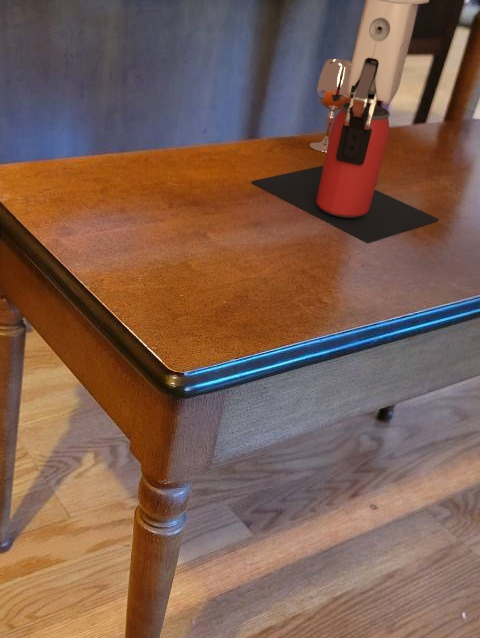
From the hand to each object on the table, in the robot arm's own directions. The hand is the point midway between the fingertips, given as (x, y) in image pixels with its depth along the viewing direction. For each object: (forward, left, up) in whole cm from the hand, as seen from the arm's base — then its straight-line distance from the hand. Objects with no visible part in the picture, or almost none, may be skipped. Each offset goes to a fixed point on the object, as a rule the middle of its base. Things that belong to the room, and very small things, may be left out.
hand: (355, 151), depth 87 cm
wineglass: (+19, -18, -8) cm, 27 cm away
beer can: (0, 0, -7) cm, 7 cm away
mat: (+3, -4, -8) cm, 9 cm away
